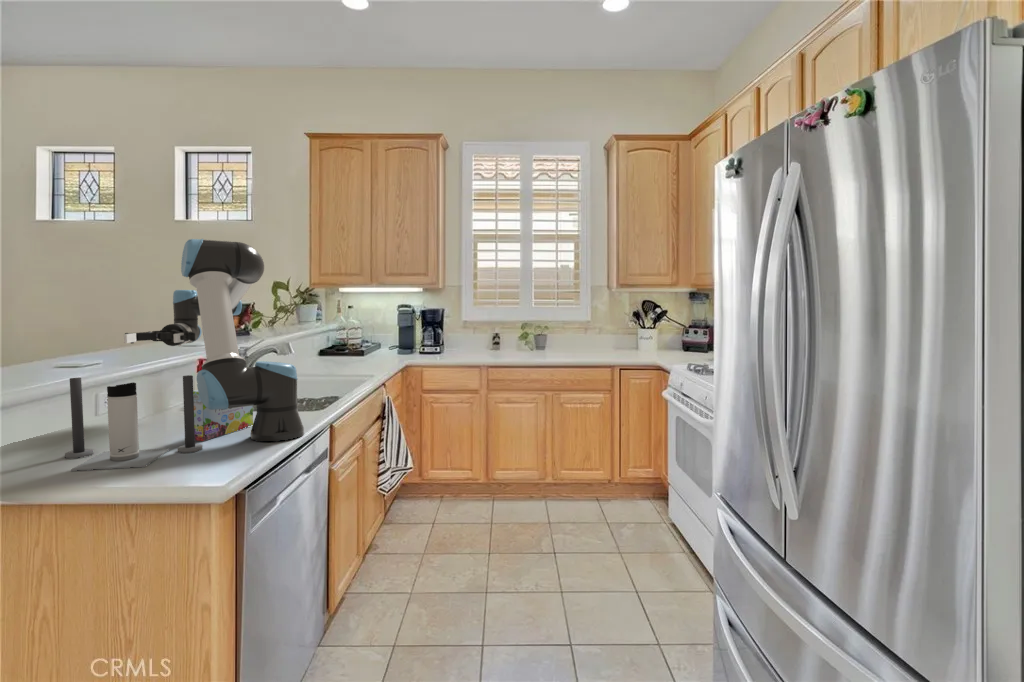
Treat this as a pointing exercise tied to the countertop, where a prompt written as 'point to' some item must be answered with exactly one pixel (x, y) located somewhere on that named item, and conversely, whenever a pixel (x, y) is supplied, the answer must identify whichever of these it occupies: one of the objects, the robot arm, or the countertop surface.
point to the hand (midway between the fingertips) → (150, 338)
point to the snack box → (219, 419)
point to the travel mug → (123, 422)
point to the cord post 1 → (77, 421)
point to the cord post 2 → (189, 417)
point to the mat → (105, 463)
